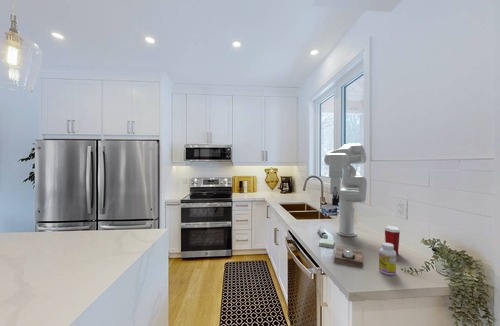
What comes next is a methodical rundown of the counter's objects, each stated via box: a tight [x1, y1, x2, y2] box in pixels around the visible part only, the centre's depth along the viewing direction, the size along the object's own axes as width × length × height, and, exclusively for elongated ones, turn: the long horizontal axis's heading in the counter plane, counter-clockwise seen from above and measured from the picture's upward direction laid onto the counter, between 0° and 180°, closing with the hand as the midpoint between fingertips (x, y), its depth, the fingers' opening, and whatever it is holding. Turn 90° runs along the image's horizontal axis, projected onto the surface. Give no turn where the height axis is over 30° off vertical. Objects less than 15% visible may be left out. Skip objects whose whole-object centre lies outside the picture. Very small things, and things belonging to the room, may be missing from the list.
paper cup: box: [383, 225, 401, 256], centre depth 123 cm, size 8×8×14 cm
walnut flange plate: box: [333, 245, 364, 268], centre depth 116 cm, size 16×13×3 cm
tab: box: [318, 237, 335, 249], centre depth 135 cm, size 8×8×2 cm
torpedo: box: [317, 227, 329, 239], centre depth 152 cm, size 18×5×7 cm, turn 176°
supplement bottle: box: [378, 242, 397, 276], centre depth 102 cm, size 7×7×13 cm
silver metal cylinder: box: [343, 249, 353, 259], centre depth 113 cm, size 4×4×5 cm
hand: (335, 203), depth 130 cm, fingers open, 9 cm apart
